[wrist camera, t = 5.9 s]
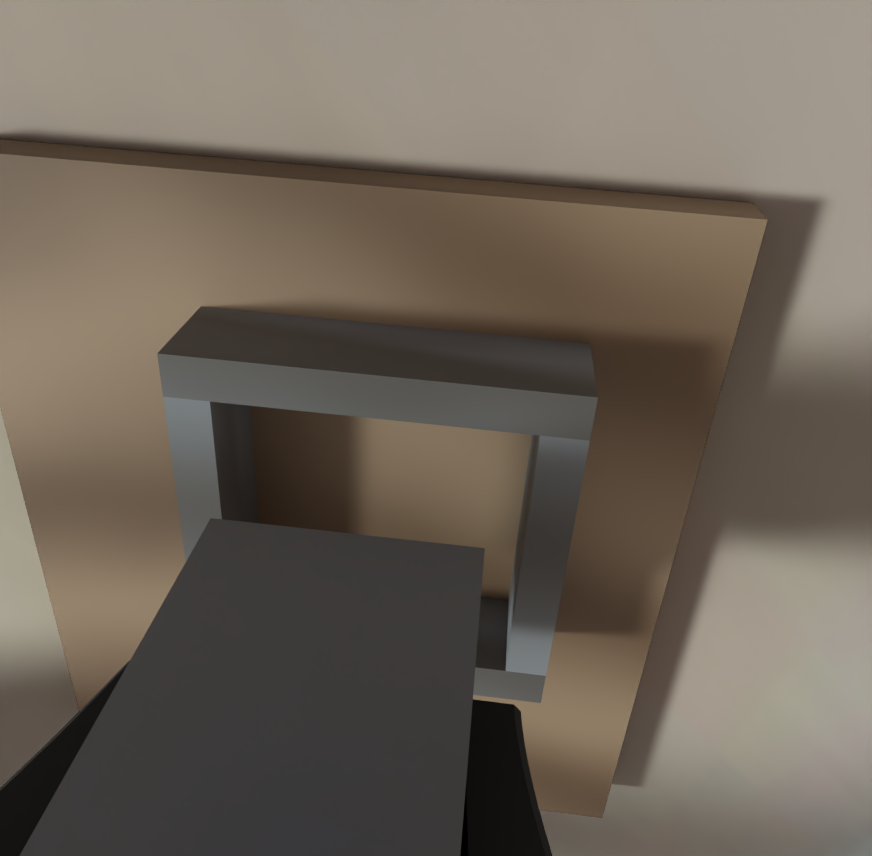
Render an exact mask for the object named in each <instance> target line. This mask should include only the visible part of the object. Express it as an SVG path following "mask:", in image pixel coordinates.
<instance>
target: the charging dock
mask: <svg viewBox="0 0 872 856" xmlns="http://www.w3.org/2000/svg"><path fill="white" fill-rule="evenodd" d="M767 221H768V220H767V218H766V217H765V216H764V215H763V214H762V213H761V212H760V210H759V209H758V208H757V207H756V206H755V205H754V204H753V203H748V202H736V201H724V200H712V199H701V198H689V197H677V196H665V195H653V194H642V193H630V192H618V191H606V190H595V189H583V188H571V187H559V186H547V185H536V184H524V183H512V182H500V181H488V180H477V179H465V178H453V177H441V176H430V175H418V174H406V173H394V172H382V171H371V170H359V169H347V168H335V167H324V166H312V165H300V164H288V163H276V162H265V161H253V160H241V159H229V158H218V157H206V156H194V155H182V154H170V153H159V152H147V151H135V150H123V149H112V148H100V147H88V146H76V145H64V144H53V143H41V142H29V141H17V140H6V139H0V409H1V412H2V416H3V420H4V424H5V428H6V432H7V435H8V439H9V443H10V447H11V451H12V455H13V458H14V462H15V466H16V470H17V474H18V478H19V482H20V485H21V489H22V493H23V497H24V501H25V505H26V508H27V512H28V516H29V520H30V524H31V528H32V531H33V535H34V539H35V543H36V547H37V551H38V554H39V558H40V562H41V566H42V570H43V574H44V577H45V581H46V585H47V589H48V593H49V597H50V601H51V604H52V608H53V612H54V616H55V620H56V624H57V627H58V631H59V635H60V639H61V643H62V647H63V650H64V654H65V658H66V662H67V666H68V670H69V673H70V677H71V681H72V685H73V689H74V693H75V696H76V700H77V704H78V708H79V711H80V710H81V709H82V708H83V707H84V706H85V705H86V704H87V703H88V702H89V701H90V700H91V699H92V698H93V697H94V696H95V695H96V694H97V693H98V692H99V691H100V690H101V689H102V688H103V687H104V686H105V685H106V684H107V683H108V682H109V681H110V680H111V679H112V678H113V677H114V675H115V674H116V673H117V672H118V671H119V670H120V669H121V668H122V667H123V666H124V665H125V664H126V663H127V662H128V661H130V660H131V658H132V656H133V654H134V653H135V651H136V649H137V647H138V646H139V644H140V642H141V640H142V639H143V637H144V635H145V633H146V632H147V630H148V628H149V626H150V624H151V623H152V621H153V619H154V617H155V616H156V614H157V612H158V610H159V609H160V607H161V605H162V603H163V602H164V600H165V598H166V596H167V594H168V593H169V591H170V589H171V587H172V586H173V584H174V582H175V580H176V579H177V577H178V575H179V573H180V572H181V570H182V568H183V566H184V564H185V563H186V561H187V559H188V557H189V556H190V554H191V552H192V550H193V549H194V547H195V545H196V543H197V541H198V540H199V538H200V536H201V534H202V533H203V531H204V529H205V527H206V526H207V524H208V522H209V520H210V519H211V518H214V519H223V520H232V521H242V522H251V523H260V524H269V525H278V526H287V527H296V528H306V529H315V530H324V531H333V532H342V533H351V534H360V535H369V536H379V537H388V538H397V539H406V540H415V541H424V542H433V543H442V544H452V545H461V546H470V547H479V548H485V552H484V565H483V577H482V590H481V602H480V615H479V627H478V640H477V653H476V665H475V678H474V690H473V699H474V700H482V701H490V702H498V703H507V704H514V705H515V706H516V707H517V708H518V709H519V710H520V711H521V719H522V728H523V735H524V742H525V748H526V754H527V759H528V764H529V769H530V774H531V778H532V782H533V787H534V791H535V795H536V799H537V803H538V807H539V810H545V811H552V812H560V813H568V814H575V815H583V816H591V817H598V818H602V816H603V813H604V809H605V805H606V802H607V798H608V795H609V791H610V787H611V784H612V780H613V777H614V773H615V769H616V766H617V762H618V758H619V755H620V751H621V748H622V744H623V740H624V737H625V733H626V730H627V726H628V722H629V719H630V715H631V712H632V708H633V704H634V701H635V697H636V693H637V690H638V686H639V683H640V679H641V675H642V672H643V668H644V665H645V661H646V657H647V654H648V650H649V647H650V643H651V639H652V636H653V632H654V629H655V625H656V621H657V618H658V614H659V610H660V607H661V603H662V600H663V596H664V592H665V589H666V585H667V582H668V578H669V574H670V571H671V567H672V564H673V560H674V556H675V553H676V549H677V545H678V542H679V538H680V535H681V531H682V527H683V524H684V520H685V517H686V513H687V509H688V506H689V502H690V499H691V495H692V491H693V488H694V484H695V480H696V477H697V473H698V470H699V466H700V462H701V459H702V455H703V452H704V448H705V444H706V441H707V437H708V434H709V430H710V426H711V423H712V419H713V415H714V412H715V408H716V405H717V401H718V397H719V394H720V390H721V387H722V383H723V379H724V376H725V372H726V369H727V365H728V361H729V358H730V354H731V351H732V347H733V343H734V340H735V336H736V332H737V329H738V325H739V322H740V318H741V314H742V311H743V307H744V304H745V300H746V296H747V293H748V289H749V286H750V282H751V278H752V275H753V271H754V267H755V264H756V260H757V257H758V253H759V249H760V246H761V242H762V239H763V235H764V231H765V228H766V224H767Z"/></svg>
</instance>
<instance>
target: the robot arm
mask: <svg viewBox="0 0 872 856" xmlns="http://www.w3.org/2000/svg"><path fill="white" fill-rule="evenodd" d="M129 662H130V661H128V662H127V663H126V664H125V665H124V666H123V667H122V668H121V669H120V670H119V671H118V672H117V673H116V674H115V675H114V677H113V678H112V679H111V680H110V681H109V682H108V683H107V684H106V685H105V686H104V687H103V688H102V689H101V690H100V691H99V692H98V693H97V694H96V695H95V696H94V697H93V698H92V699H91V700H90V701H89V702H88V703H87V704H86V705H85V706H84V707H83V708H82V709H81V710H80V711H79V712H78V713H77V714H76V715H75V716H74V717H73V718H72V719H71V720H70V721H69V722H68V723H67V724H66V725H65V726H64V727H63V728H62V729H61V730H60V731H59V732H58V733H57V734H56V735H55V736H54V737H53V738H52V739H51V740H50V741H49V742H48V743H47V744H46V745H45V746H44V747H43V748H42V749H41V750H40V751H39V752H38V753H37V754H36V755H35V756H34V757H32V758H31V759H30V760H29V761H28V762H27V763H26V764H25V765H24V766H23V767H22V768H21V769H20V770H19V771H18V772H17V773H16V774H15V775H14V776H13V777H12V778H10V779H9V780H8V781H7V782H6V783H5V784H4V785H3V786H2V787H1V788H0V856H20V854H21V852H22V850H23V849H24V847H25V845H26V843H27V842H28V840H29V838H30V836H31V835H32V833H33V831H34V829H35V828H36V826H37V824H38V822H39V820H40V819H41V817H42V815H43V813H44V812H45V810H46V808H47V806H48V805H49V803H50V801H51V799H52V798H53V796H54V794H55V792H56V790H57V789H58V787H59V785H60V783H61V782H62V780H63V778H64V776H65V775H66V773H67V771H68V769H69V768H70V766H71V764H72V762H73V760H74V759H75V757H76V755H77V753H78V752H79V750H80V748H81V746H82V745H83V743H84V741H85V739H86V737H87V736H88V734H89V732H90V730H91V729H92V727H93V725H94V723H95V722H96V720H97V718H98V716H99V715H100V713H101V711H102V709H103V707H104V706H105V704H106V702H107V700H108V699H109V697H110V695H111V693H112V692H113V690H114V688H115V686H116V685H117V683H118V681H119V679H120V677H121V676H122V674H123V672H124V670H125V669H126V667H127V665H128V663H129ZM460 856H552V853H551V850H550V846H549V843H548V840H547V836H546V833H545V830H544V826H543V822H542V819H541V815H540V811H539V807H538V803H537V799H536V795H535V791H534V787H533V782H532V778H531V774H530V769H529V764H528V759H527V754H526V748H525V742H524V735H523V728H522V719H521V711H520V710H519V709H518V708H517V707H516V706H515V705H514V704H507V703H498V702H490V701H482V700H474V699H473V703H472V715H471V728H470V741H469V753H468V766H467V778H466V791H465V803H464V816H463V828H462V841H461V854H460Z"/></svg>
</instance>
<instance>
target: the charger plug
mask: <svg viewBox="0 0 872 856" xmlns="http://www.w3.org/2000/svg"><path fill="white" fill-rule="evenodd" d="M484 552H485V548H479V547H470V546H461V545H452V544H442V543H433V542H424V541H415V540H406V539H397V538H388V537H379V536H369V535H360V534H351V533H342V532H333V531H324V530H315V529H306V528H296V527H287V526H278V525H269V524H260V523H251V522H242V521H232V520H223V519H214V518H211V519H210V520H209V522H208V524H207V526H206V527H205V529H204V531H203V533H202V534H201V536H200V538H199V540H198V541H197V543H196V545H195V547H194V549H193V550H192V552H191V554H190V556H189V557H188V559H187V561H186V563H185V564H184V566H183V568H182V570H181V572H180V573H179V575H178V577H177V579H176V580H175V582H174V584H173V586H172V587H171V589H170V591H169V593H168V594H167V596H166V598H165V600H164V602H163V603H162V605H161V607H160V609H159V610H158V612H157V614H156V616H155V617H154V619H153V621H152V623H151V624H150V626H149V628H148V630H147V632H146V633H145V635H144V637H143V639H142V640H141V642H140V644H139V646H138V647H137V649H136V651H135V653H134V654H133V656H132V658H131V660H130V662H129V663H128V665H127V667H126V669H125V670H124V672H123V674H122V676H121V677H120V679H119V681H118V683H117V685H116V686H115V688H114V690H113V692H112V693H111V695H110V697H109V699H108V700H107V702H106V704H105V706H104V707H103V709H102V711H101V713H100V715H99V716H98V718H97V720H96V722H95V723H94V725H93V727H92V729H91V730H90V732H89V734H88V736H87V737H86V739H85V741H84V743H83V745H82V746H81V748H80V750H79V752H78V753H77V755H76V757H75V759H74V760H73V762H72V764H71V766H70V768H69V769H68V771H67V773H66V775H65V776H64V778H63V780H62V782H61V783H60V785H59V787H58V789H57V790H56V792H55V794H54V796H53V798H52V799H51V801H50V803H49V805H48V806H47V808H46V810H45V812H44V813H43V815H42V817H41V819H40V820H39V822H38V824H37V826H36V828H35V829H34V831H33V833H32V835H31V836H30V838H29V840H28V842H27V843H26V845H25V847H24V849H23V850H22V852H21V854H20V856H460V854H461V841H462V828H463V816H464V803H465V791H466V778H467V766H468V753H469V741H470V728H471V715H472V703H473V690H474V678H475V665H476V653H477V640H478V627H479V615H480V602H481V590H482V577H483V565H484Z"/></svg>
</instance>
